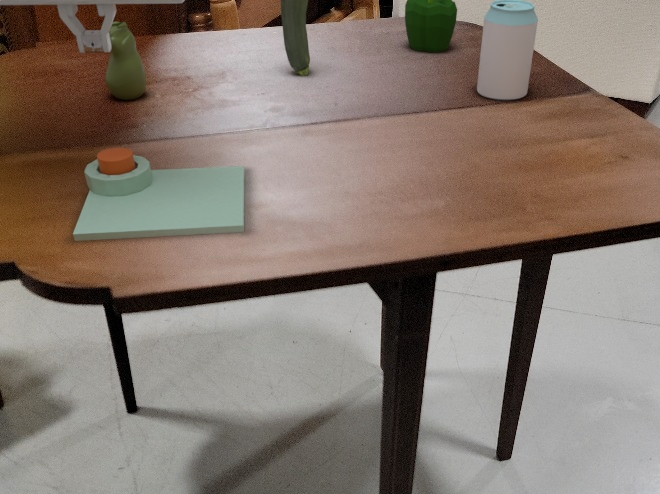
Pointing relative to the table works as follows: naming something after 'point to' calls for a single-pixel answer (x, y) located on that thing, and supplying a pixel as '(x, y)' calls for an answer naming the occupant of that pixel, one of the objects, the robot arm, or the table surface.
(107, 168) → the button
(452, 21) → the bell pepper
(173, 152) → the table surface
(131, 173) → the pale green flat block
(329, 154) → the table surface
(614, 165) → the table surface
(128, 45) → the pear
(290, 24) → the vegetable
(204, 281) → the table surface
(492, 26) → the can
